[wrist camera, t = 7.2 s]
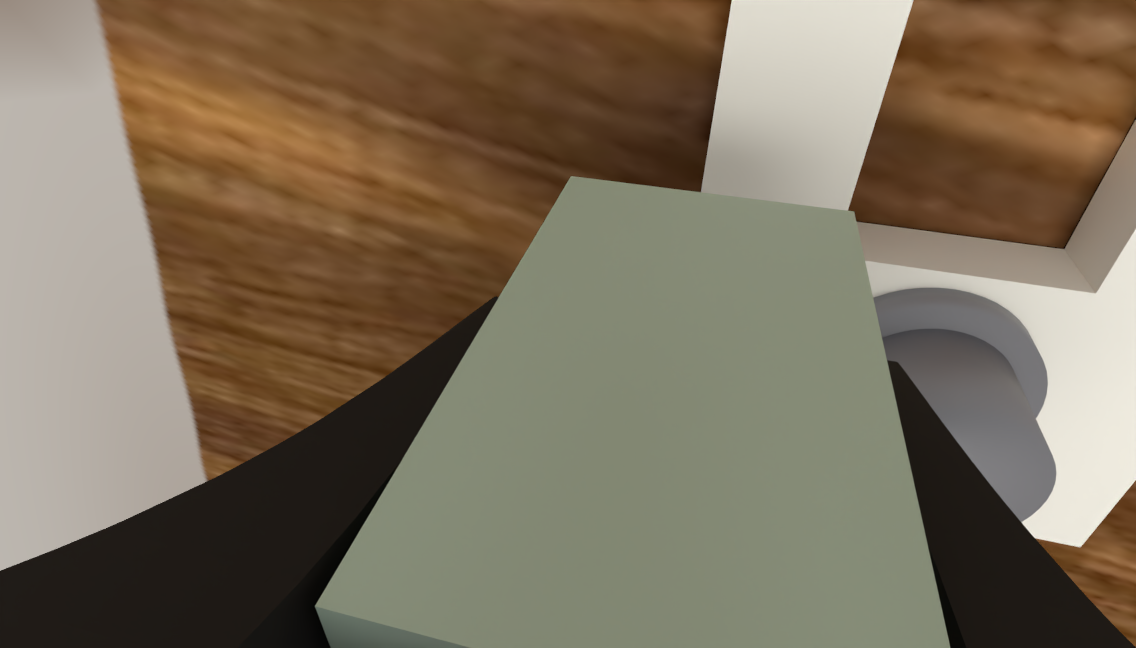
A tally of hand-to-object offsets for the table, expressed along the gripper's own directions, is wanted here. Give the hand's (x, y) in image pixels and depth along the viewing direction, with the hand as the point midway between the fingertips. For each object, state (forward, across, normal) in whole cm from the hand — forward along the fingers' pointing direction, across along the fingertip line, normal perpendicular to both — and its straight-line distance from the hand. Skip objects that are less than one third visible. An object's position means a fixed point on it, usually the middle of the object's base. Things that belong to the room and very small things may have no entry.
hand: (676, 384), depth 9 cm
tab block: (+2, 0, 0) cm, 2 cm away
